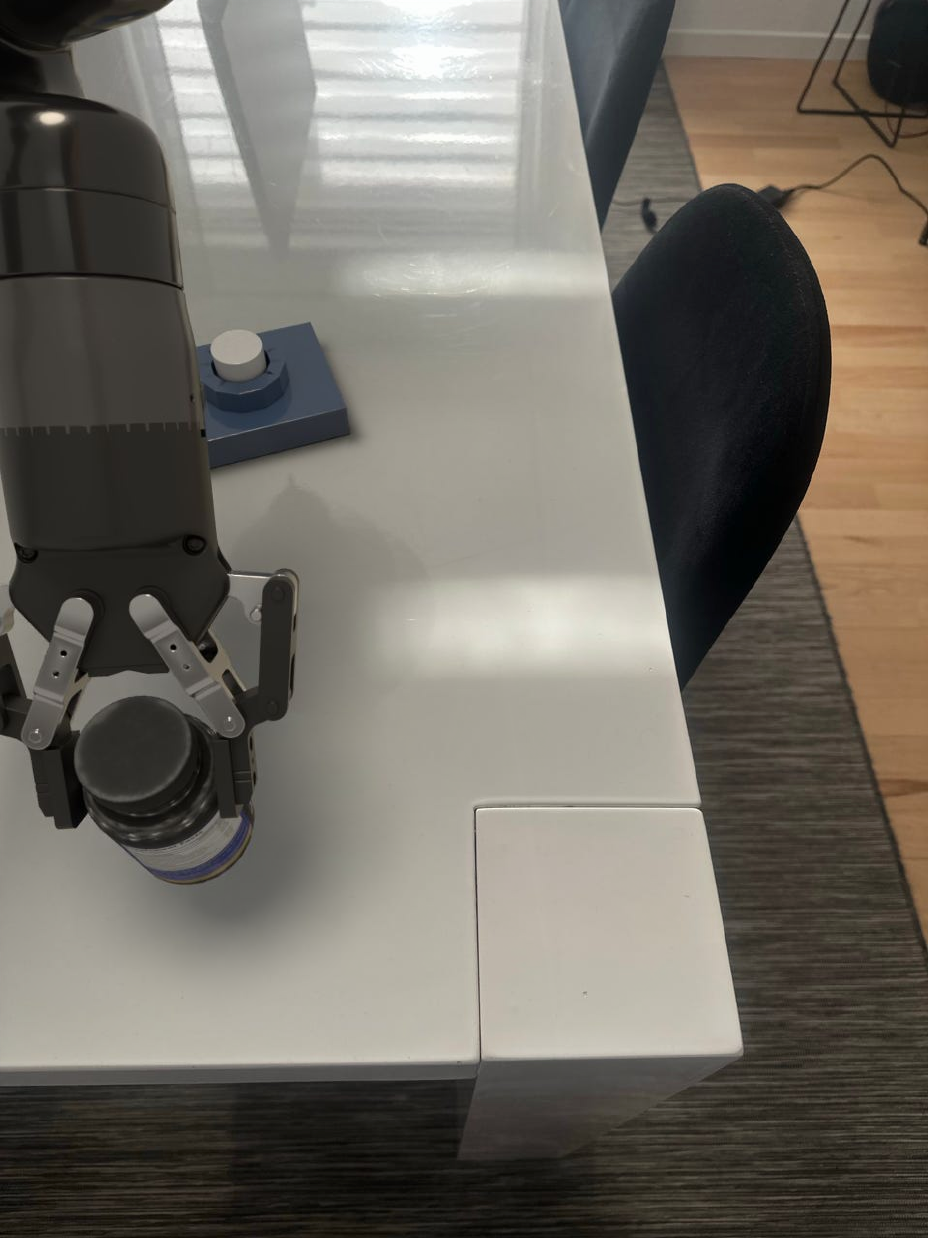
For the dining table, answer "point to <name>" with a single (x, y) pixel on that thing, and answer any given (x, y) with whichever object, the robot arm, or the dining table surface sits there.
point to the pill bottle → (159, 790)
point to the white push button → (238, 356)
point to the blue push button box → (273, 400)
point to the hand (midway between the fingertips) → (154, 814)
